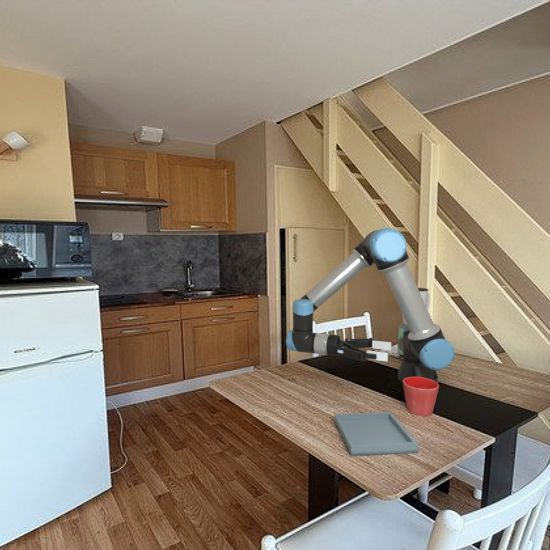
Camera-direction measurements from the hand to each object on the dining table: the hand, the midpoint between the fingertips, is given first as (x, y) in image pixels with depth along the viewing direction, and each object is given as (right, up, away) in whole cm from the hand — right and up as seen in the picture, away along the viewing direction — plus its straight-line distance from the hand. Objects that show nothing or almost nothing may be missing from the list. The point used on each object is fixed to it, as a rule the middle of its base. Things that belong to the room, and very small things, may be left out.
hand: (389, 351), depth 118 cm
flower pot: (+9, -19, -2) cm, 22 cm away
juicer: (+29, -15, +54) cm, 63 cm away
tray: (-11, -20, -18) cm, 29 cm away
